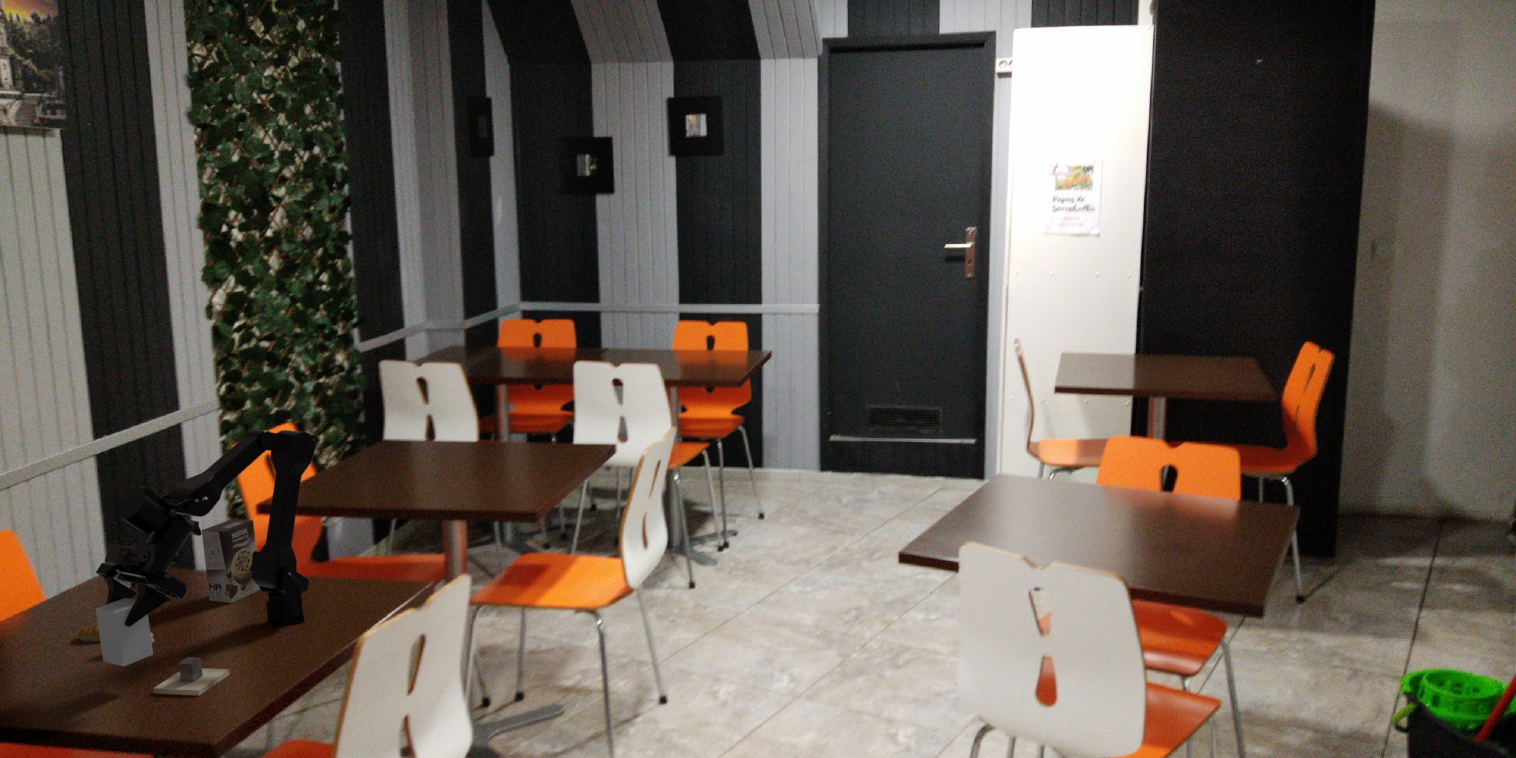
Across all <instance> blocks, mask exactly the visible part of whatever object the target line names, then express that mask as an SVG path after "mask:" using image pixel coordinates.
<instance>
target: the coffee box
mask: <svg viewBox="0 0 1516 758" xmlns="http://www.w3.org/2000/svg"><path fill="white" fill-rule="evenodd" d="M254 526H255V525H254V520H252V519H233V518H231V519H228V520H226V521H223V522H220V523H218V524H215V525H212V526H210V527H206V528H204V529H201V533H202V534H201V537H202V545H203V554H204V563H205V569H206V570H205V572H206V579H207V588H208V597H209V598H208V599H209V601H210V602H218V603H226V604H233V603H235V602H237V601H239V600H241V599H243V598H246V597H248V596H250V595H252V594H254V593H257V592H258V591H261V590H260V588H259V586H258V585H257V584H256V583H255V582H254V580H252V571H249V570H250V567H251V565H252V554H253V552H254V551H257V543H256V536H255V527H254Z"/></svg>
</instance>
